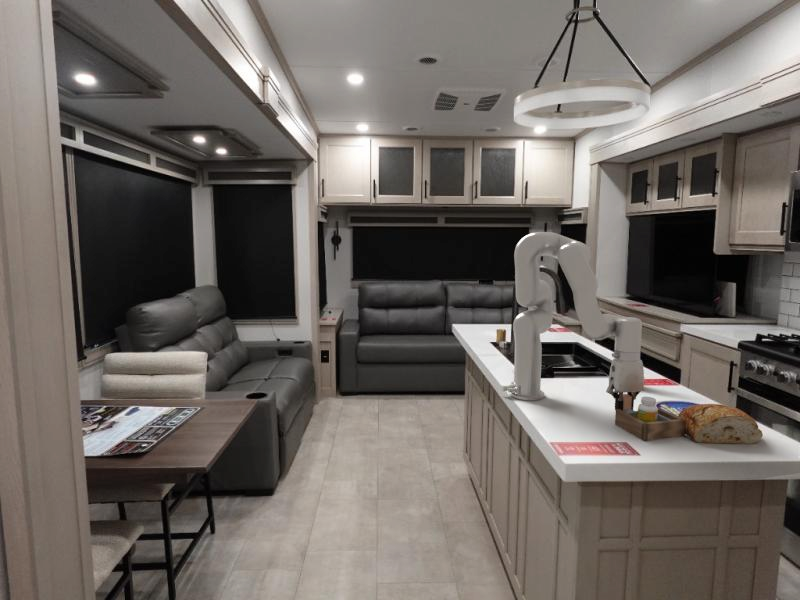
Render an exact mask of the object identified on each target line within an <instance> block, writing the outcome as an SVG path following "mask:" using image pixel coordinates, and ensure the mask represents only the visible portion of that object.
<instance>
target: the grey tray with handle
mask: <svg viewBox="0 0 800 600" xmlns="http://www.w3.org/2000/svg"><path fill="white" fill-rule="evenodd" d="M618 395H619V393H618ZM622 401H623V402H624V403H623V411H624V412H626V413H628V414H630V415H632V416H634V417H636V418H638V410H634V409H633V410H632V409H631V405H632V396H630V395H628V394H627V393H623V397H622ZM666 420H671V419H669V418H667V417H664V416H662V415H660V414H658V417H657V421H666Z"/></svg>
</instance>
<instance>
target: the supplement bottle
mask: <svg viewBox="0 0 800 600" xmlns="http://www.w3.org/2000/svg"><path fill="white" fill-rule="evenodd" d="M656 404H657V400H656V398H654V397H651V396H642V397H640V404H638V407H637V411H638V419H639V420H641V421H643V422H645V423H647V422H657V417H658V408H659V407H658V406H657V405H656ZM657 407H658V408H657Z"/></svg>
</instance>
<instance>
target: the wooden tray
mask: <svg viewBox="0 0 800 600" xmlns="http://www.w3.org/2000/svg"><path fill="white" fill-rule="evenodd" d="M657 408H658V414H660V415H662V416H664V417H667V418H669V419H671V420H666V421H657V422H647V423H645V422H643V421H641V420H639V419H638V418H636V417H634V416H632V415H630V414H628V413H626V412H624V411H622V410H620V409H616V410H615V412H614V413H615V416H614V417H615V418H614V426H617V427H618V428H620V429H621V430H623V431H625V432H627V433H629V434H630V435H632V436H634V437H636V438H638V439H639V440H641V441H642V442H648V441H649V442H650V441H658V440H665V439H674V438H675V439H676V438H683V437H684V438H685V437H686V435H685V428H686V420H685V419H682V418H680V417H678V416H679V415H676V414H674V413H671V412H669V411H667V410H665V409H662V408H660V407H658V406H657Z"/></svg>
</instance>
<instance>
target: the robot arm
mask: <svg viewBox="0 0 800 600" xmlns="http://www.w3.org/2000/svg"><path fill="white" fill-rule="evenodd" d="M547 256H549V257H552V258H553V259H557V261H558V263H559V265H560V268H561V270H562V272H563V273H564V276H565V278H566V280H567V283H568V285H569V286H570V288H571V291H572V295H573V303H574V309H575V314H576V315H577V318H578V320H579V322H580V324H581V326H582V329H583V330H584V332H585V334H586V335H587V336H588V337H589V338H591V339H592V340H595V341H602V340H605V339H607V338H610V337H614V338H615V339H614V352H613V353H611V357H612V358H613V359H612V361H611V365H610V368H609V375H608V376H609V378H608V386H607V388H606V393H608V394H609V395H611V396H612V397H613V399H614V400H615V401H614V410H615V411H616V409H620V410H622V411H623V403H624V402H623V401H622V397H623V394H628V395H630V396H632V405H631V409H632V410H634V402H635V400H636V399H637V397H638V395H639V394H640V393H641V392H643V391H644V390H645V388H644V387H645V386H644V385H645V375H644V374H645V371H644V363H643V360H642V359H641V346H642V345H641V344H642V332H643V331H642V330H643V329H642V328H643V322H642V320H641V318H638V317H633V316H632V317H631V316H619V315H615V314H612V313H602V311H601V309H600V307H599V304H598V299H597V290H598V287H599V282H598V278H597V277H596V275H595V273H594V271H593V268H592V266H591V265H590V263H589V262H590V261H591V259H592V252H591V249H590V248H589V246H588V245H587V244H586V243H583V242H582V241H578V240H577V239H573V238H569V237H567V236H564V235H561V234H559V233H556V232H551V231H536V232H531V233H528V234H526V235H525V236H523V237H521V239H520V240H519V241H518V242H517V244H516V245H515V249H514V254H513V258H514V259H513V260H514V269H515V270H514V273H515V274H514V279H515V281H514V283H515V299H516V302H517V303H518V305H520V306H521V307H524V308H528V309H527V310H525V311H522V312H520V313H518V314H517V315H516V317H514V320H513V323H512V330H513V335H514V336H513V337H514V368H513V369H514V370H513V374H514V375H513V381H512V382H511V383H510V384H509V385H502V386H501V391H502V392H507V393H509V395H510V396H511V397H512V398H514V399H516V400H521V401H540V400H543V399H544V398H545V396H546V395H545V391H543V390H542V389H541V382H542V381H541V379H542V377H541V376H542V355H543V354H542V353H543V351H542V350H543V349H542V341H541V336H540V335H541V334H544V333H546V332H547V331H549V330H550V328H551V327H552V325H553V318H554V316H553V313H554V312H553V294H552V293H553V292H552V289H551V286H550V285H549V284H548V282H546V281H545V280H543V279H541V278H540V277H541V276H540V270H541V269H540V266H539V262H538V258H540V257H547ZM618 394H619V395H618Z"/></svg>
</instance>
